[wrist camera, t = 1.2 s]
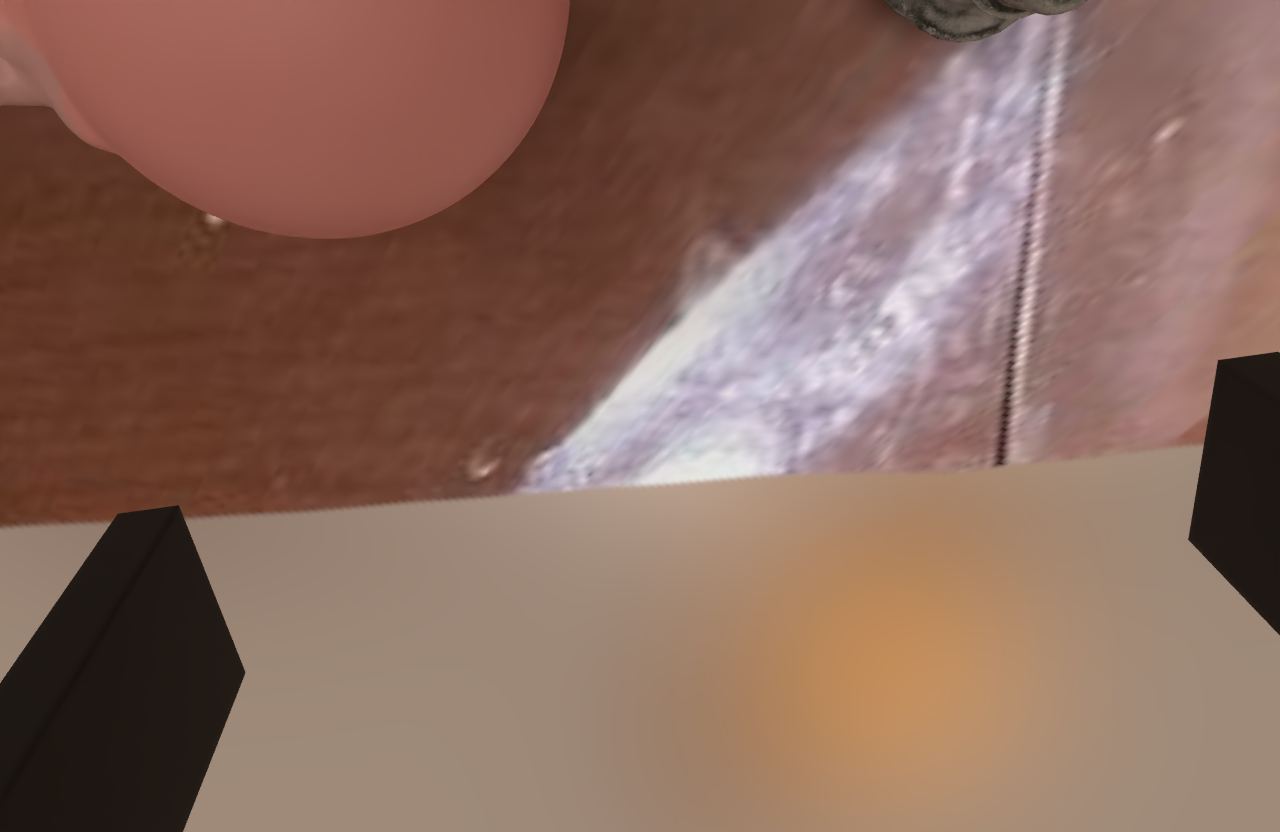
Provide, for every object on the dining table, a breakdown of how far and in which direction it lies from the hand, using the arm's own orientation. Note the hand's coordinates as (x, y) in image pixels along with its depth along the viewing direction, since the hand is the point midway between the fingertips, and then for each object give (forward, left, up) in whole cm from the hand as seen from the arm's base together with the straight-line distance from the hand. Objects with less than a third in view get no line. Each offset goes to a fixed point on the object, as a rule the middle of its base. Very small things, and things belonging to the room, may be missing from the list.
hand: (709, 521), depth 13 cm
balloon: (-6, -11, -31) cm, 33 cm away
